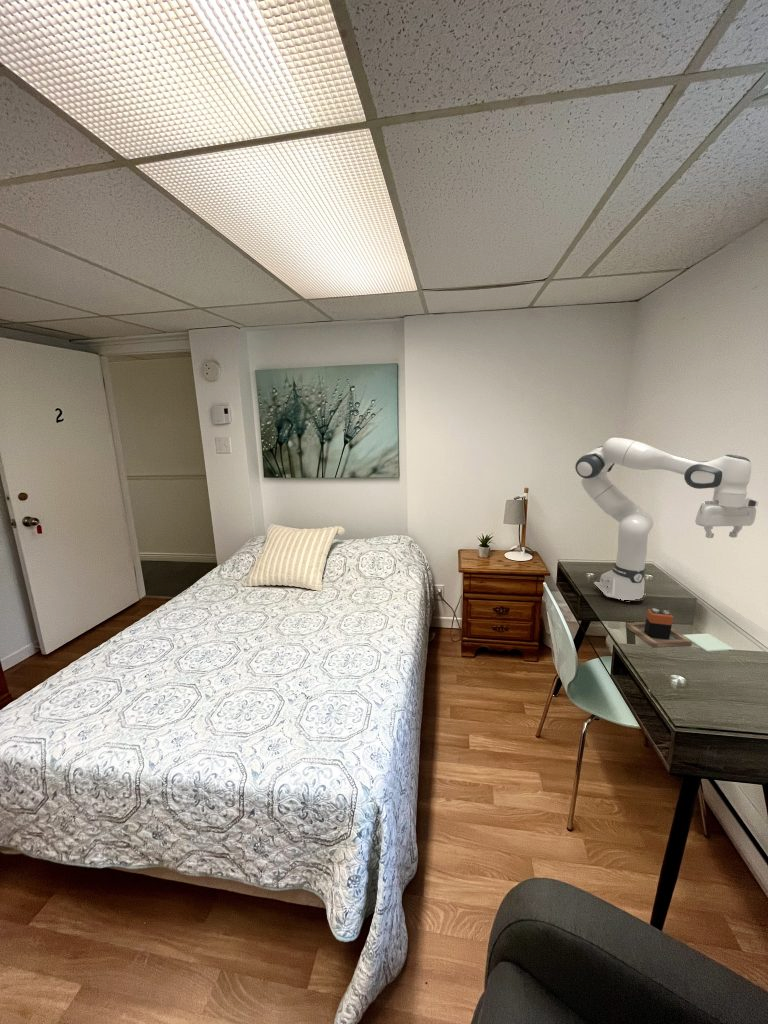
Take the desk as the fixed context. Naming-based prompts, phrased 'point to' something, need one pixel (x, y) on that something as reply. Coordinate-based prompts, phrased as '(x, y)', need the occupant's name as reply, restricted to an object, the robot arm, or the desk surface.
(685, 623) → the desk surface
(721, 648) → the pad
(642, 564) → the robot arm
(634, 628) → the dock
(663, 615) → the battery
